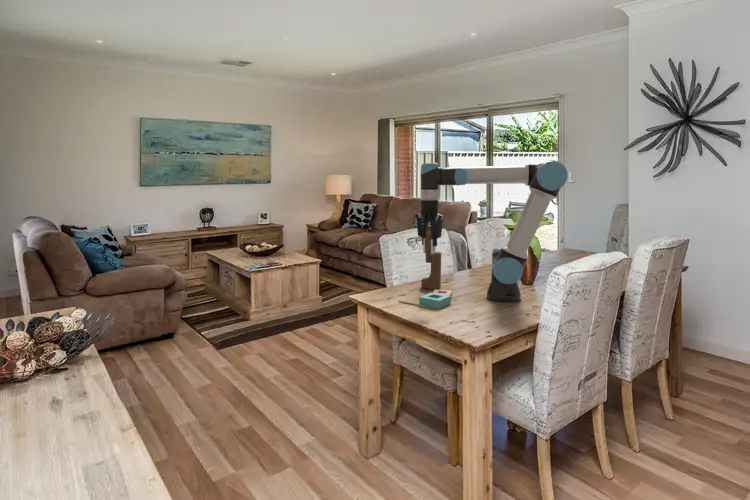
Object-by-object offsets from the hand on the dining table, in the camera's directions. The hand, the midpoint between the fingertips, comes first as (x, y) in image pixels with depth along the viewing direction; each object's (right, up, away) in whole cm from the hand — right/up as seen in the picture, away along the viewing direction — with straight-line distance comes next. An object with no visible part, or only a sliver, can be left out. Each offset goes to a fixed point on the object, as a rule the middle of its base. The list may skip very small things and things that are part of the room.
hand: (429, 253), depth 216 cm
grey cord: (-8, -22, 0) cm, 24 cm away
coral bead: (+7, -21, +9) cm, 24 cm away
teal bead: (+2, -22, 0) cm, 23 cm away
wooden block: (+4, -18, +29) cm, 34 cm away
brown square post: (0, -4, +1) cm, 4 cm away
